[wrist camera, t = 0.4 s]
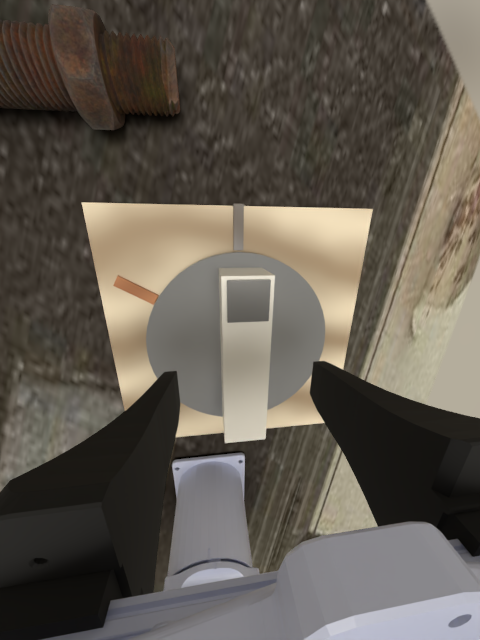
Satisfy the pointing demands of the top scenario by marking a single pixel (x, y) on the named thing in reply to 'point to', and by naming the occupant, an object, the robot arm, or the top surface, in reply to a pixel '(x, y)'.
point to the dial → (237, 338)
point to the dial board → (211, 239)
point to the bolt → (85, 69)
